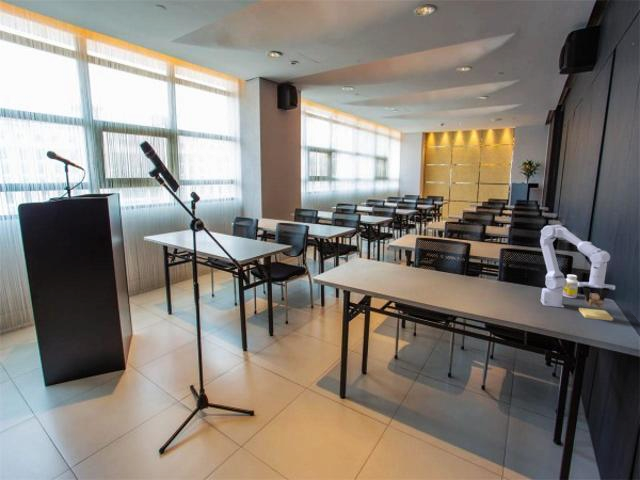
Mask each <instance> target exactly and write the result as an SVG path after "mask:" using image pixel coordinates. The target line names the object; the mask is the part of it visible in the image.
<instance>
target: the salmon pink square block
mask: <svg viewBox="0 0 640 480" xmlns="http://www.w3.org/2000/svg"><path fill="white" fill-rule="evenodd" d="M589 297H590V298H591V299H594V300H599V298H600V294H598V293H593V292H590V295H589Z"/></svg>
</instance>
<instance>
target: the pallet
mask: <svg viewBox="0 0 640 480" xmlns="http://www.w3.org/2000/svg"><path fill="white" fill-rule="evenodd" d="M584 303H586V304H587V306H589V307H590V308H595V306H596V307H597V308H599V309H603V308H604V300H603V301H602V300H601V299H600V297H599V300H594V299H591V298H590V297H589V301H588V302H587V301H586V300H585V299H584Z"/></svg>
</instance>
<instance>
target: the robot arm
mask: <svg viewBox="0 0 640 480" xmlns="http://www.w3.org/2000/svg"><path fill="white" fill-rule="evenodd" d="M540 234H541V235H540V239H539V243H540V247H541V251H542V255H543V259H544V263H545V266H546V271H547V273H546V275H545V286H546V287H543V288H542V289H541V296H540V302H541V303H542V305H543V306H545V307H555V308H565V306H564V304H562V303H563V297H564V296H563V290H564V287H565V286H566V285H567V280H566V279H567V278H565V275H564V273H563V272H562V271H561V270H560V268H559V264H558V259H557V257H556V252H555V248H554V243H553V242H555V240H556V239H557V238H563V239H565V240H566V241H567V242H569V243H571V244H572V245H574V246H576V247H577V250H578V251H579V252H580V253H582V254H583V255H585V256H586V257H587V258H589V260H590V262H591V265H590V266H591V267H590V274H589V279H588V280H589V281H578V288H582V291H583V293H584V301H585V300H586V301H587V302H588V301H589V296H590V293H591V288H594V289H595V288H596V289H600V290H599V293H600V294H599V298H600V299H601V300H602V301H603V302H604V300H605V299H606V297H607V296H608V295H609V293H610V292H611V290H613V291H615V290H616V285H614V284H607V283H605V280H606V279H605V278H606V272H607V265H608V262H609V261H610V260H611V255H610V253H609V252H608V251H606V250H602V249H601V248H598V247H596V246H595V245H593V243H592V242H591V241H584V240H582V239H580V238H579V237H578V236H576V235H575V234H574V233H572V232H570V231H569V229H568V228H566V227H565V226H563V225H561V224H554V225H545V226H544V227H543V228H542V229H541V230H540Z"/></svg>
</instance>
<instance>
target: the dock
mask: <svg viewBox="0 0 640 480" xmlns="http://www.w3.org/2000/svg"><path fill="white" fill-rule="evenodd" d="M578 311H579V312H580V313H581V315H582V316H583V317H584V318H585V319H593V320H604V321H610V322H612V321H613V320H614V317H612V316H611V315H610V313H608V311H606V310H605V309H603V310H602V309H595V308H586V307H578Z"/></svg>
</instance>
